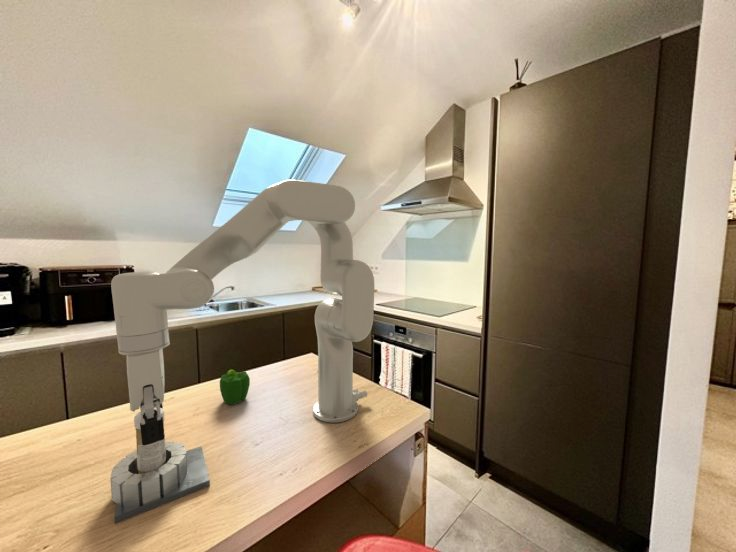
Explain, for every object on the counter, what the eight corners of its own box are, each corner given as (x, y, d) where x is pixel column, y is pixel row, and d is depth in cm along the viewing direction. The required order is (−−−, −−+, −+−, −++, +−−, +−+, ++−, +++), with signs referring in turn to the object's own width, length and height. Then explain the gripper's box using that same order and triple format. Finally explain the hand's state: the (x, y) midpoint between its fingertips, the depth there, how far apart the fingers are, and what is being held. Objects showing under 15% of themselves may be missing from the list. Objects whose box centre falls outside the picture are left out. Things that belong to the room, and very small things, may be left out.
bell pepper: (238, 391, 96) (237, 360, 95) (255, 398, 92) (254, 366, 91) (212, 402, 89) (211, 369, 88) (230, 410, 85) (229, 376, 84)
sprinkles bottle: (146, 472, 59) (142, 407, 58) (171, 470, 60) (168, 405, 59) (132, 491, 55) (128, 420, 54) (159, 488, 56) (156, 418, 55)
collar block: (201, 451, 68) (200, 429, 67) (209, 485, 58) (208, 460, 57) (116, 479, 59) (114, 454, 59) (109, 525, 49) (107, 496, 49)
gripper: (121, 332, 60) (131, 414, 62) (112, 359, 46) (124, 463, 48) (167, 326, 64) (174, 402, 66) (171, 348, 50) (180, 444, 52)
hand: (153, 428), depth 57 cm, fingers open, 9 cm apart
